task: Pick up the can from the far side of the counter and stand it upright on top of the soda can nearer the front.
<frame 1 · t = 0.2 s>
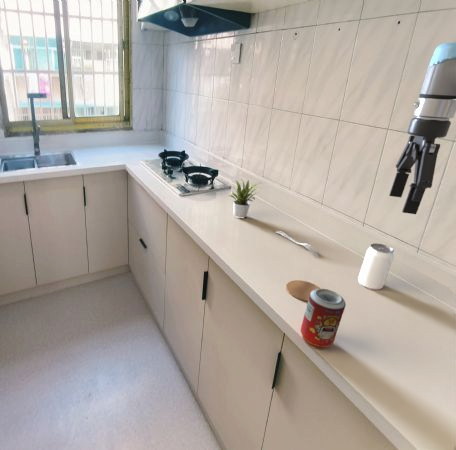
hand: (401, 204, 87), 26 cm above the worktop, tool pointing down, fingers open, 13 cm apart
can: (369, 284, 99), on the worktop
fork: (295, 244, 122), on the worktop
cork coaster: (304, 291, 95), on the worktop
house plant: (242, 217, 144), on the worktop
soda can: (315, 340, 77), on the worktop
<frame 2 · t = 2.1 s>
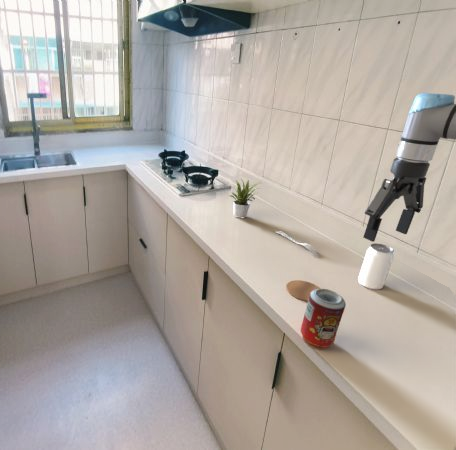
hand: (385, 235, 93), 16 cm above the worktop, tool pointing down, fingers open, 13 cm apart
nothing on the worktop moved.
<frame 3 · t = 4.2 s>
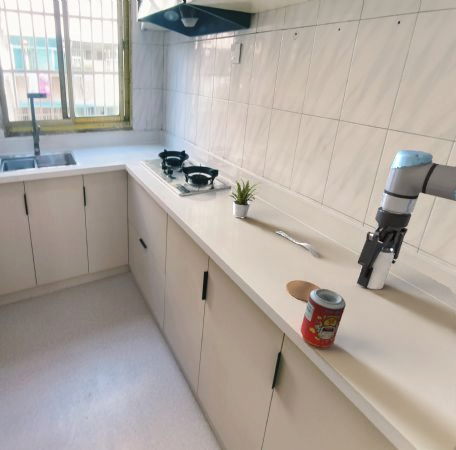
hand: (370, 282, 99), 0 cm above the worktop, tool pointing down, fingers closed on can, 6 cm apart
can: (369, 284, 99), on the worktop, touching gripper
everything else where it was.
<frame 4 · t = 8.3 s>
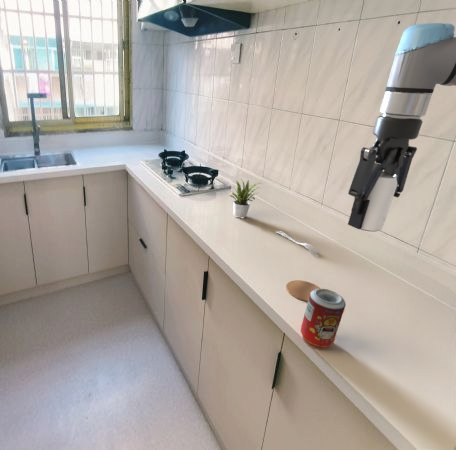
hand: (365, 224, 75), 25 cm above the worktop, tool pointing down, fingers closed on can, 6 cm apart
can: (364, 226, 75), point 25 cm above the worktop, touching gripper
everything else where it was.
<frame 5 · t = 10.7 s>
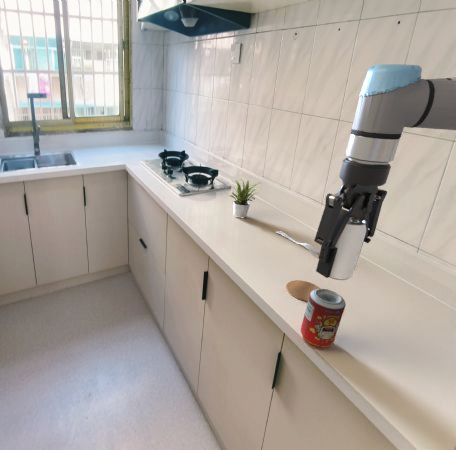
hand: (335, 270, 70), 18 cm above the worktop, tool pointing down, fingers closed on can, 6 cm apart
can: (334, 273, 70), point 18 cm above the worktop, touching gripper
everything else where it was.
when the fingers open (13 cm above the worktop, at t = 12.5 s): can stays where it is, resting on soda can.
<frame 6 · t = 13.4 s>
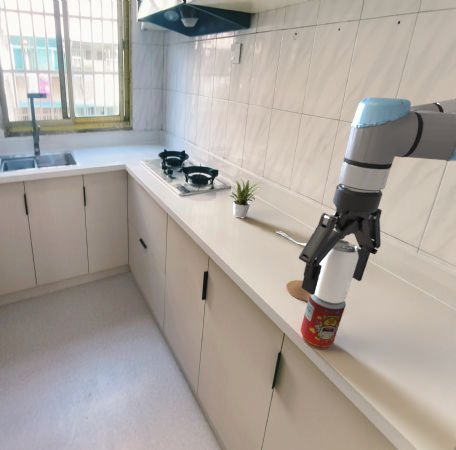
hand: (331, 284, 71), 15 cm above the worktop, tool pointing down, fingers open, 13 cm apart
can: (327, 296, 72), point 12 cm above the worktop, touching soda can
soda can: (315, 340, 77), on the worktop, touching can
everything else where it was.
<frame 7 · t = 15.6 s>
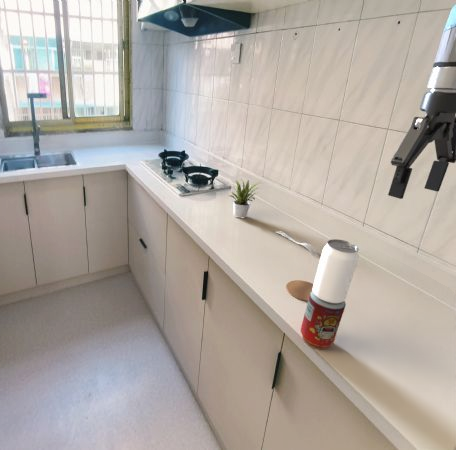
hand: (413, 193, 76), 32 cm above the worktop, tool pointing down, fingers open, 13 cm apart
nothing on the worktop moved.
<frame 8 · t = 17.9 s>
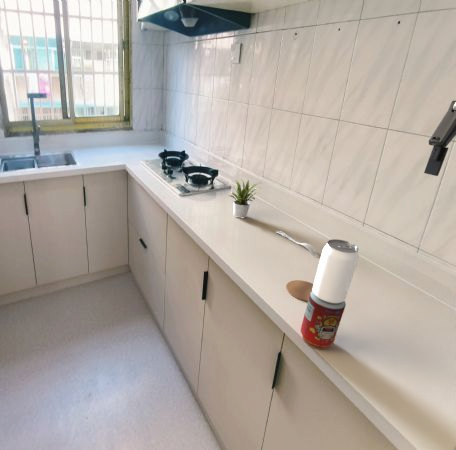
hand: (447, 172, 83), 35 cm above the worktop, tool pointing down, fingers open, 13 cm apart
nothing on the worktop moved.
at the end: can 0.1 cm off-centre on the soda can, point 12.3 cm above the soda can's base; can tilted 0°; soda can moved 0.2 cm from its start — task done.
